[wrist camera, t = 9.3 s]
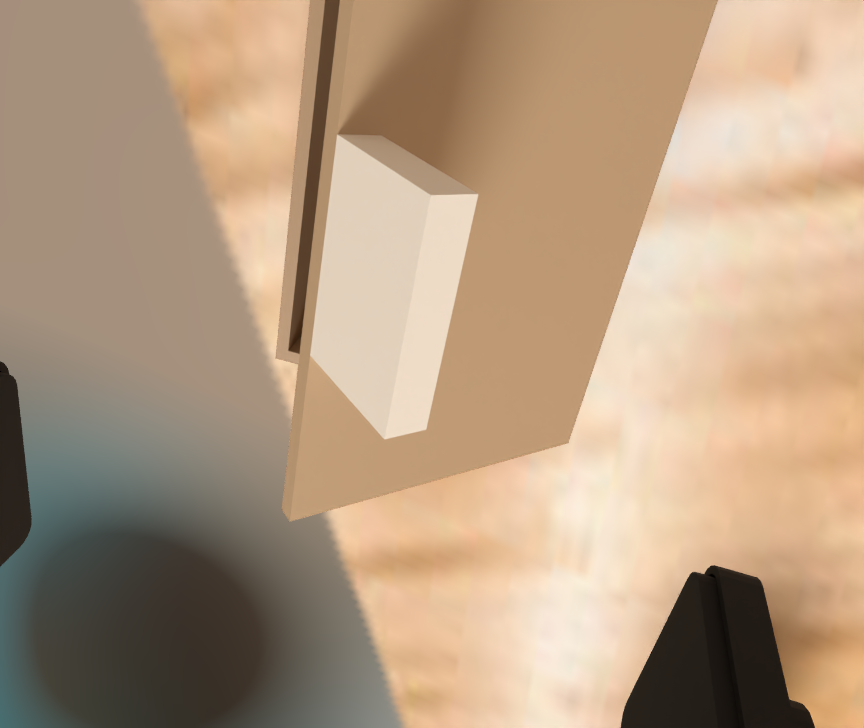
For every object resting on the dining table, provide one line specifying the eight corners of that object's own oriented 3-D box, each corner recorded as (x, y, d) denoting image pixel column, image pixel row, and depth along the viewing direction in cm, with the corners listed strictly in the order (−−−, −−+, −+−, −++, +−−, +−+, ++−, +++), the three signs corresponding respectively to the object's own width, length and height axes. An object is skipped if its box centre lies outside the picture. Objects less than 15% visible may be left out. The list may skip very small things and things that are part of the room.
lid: (359, -176, 15) (499, -169, 12) (724, -72, 22) (874, -50, 19) (281, 509, 24) (350, 614, 21) (558, 434, 31) (641, 506, 28)
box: (389, -128, 30) (325, -155, 23) (693, -64, 29) (722, -72, 22) (334, 287, 39) (275, 358, 32) (565, 347, 38) (557, 433, 31)
